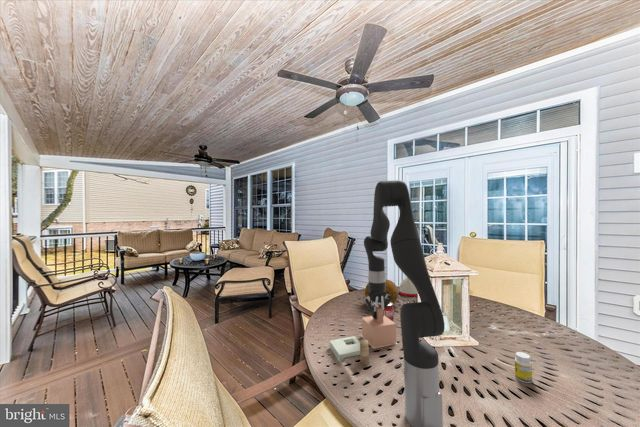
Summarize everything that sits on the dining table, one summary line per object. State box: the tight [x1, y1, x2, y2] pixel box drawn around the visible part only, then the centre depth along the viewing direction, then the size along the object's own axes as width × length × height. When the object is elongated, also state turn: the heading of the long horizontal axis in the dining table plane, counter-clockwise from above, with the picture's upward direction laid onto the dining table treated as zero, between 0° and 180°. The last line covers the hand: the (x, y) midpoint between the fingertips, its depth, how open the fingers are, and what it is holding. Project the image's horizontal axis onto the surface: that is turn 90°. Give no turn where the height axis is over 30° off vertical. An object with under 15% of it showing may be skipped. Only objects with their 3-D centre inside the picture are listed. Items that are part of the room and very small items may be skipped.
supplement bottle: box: [514, 351, 533, 384], centre depth 90 cm, size 5×5×8 cm
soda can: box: [384, 302, 395, 323], centre depth 133 cm, size 7×7×12 cm
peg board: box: [329, 335, 360, 363], centre depth 111 cm, size 12×12×3 cm
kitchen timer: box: [398, 276, 418, 297], centre depth 184 cm, size 14×14×15 cm
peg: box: [359, 338, 370, 366], centre depth 100 cm, size 3×3×10 cm
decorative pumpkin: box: [364, 278, 399, 306], centre depth 163 cm, size 20×21×20 cm
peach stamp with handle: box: [361, 305, 397, 349], centre depth 117 cm, size 11×11×15 cm
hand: (378, 318), depth 117 cm, fingers closed on peach stamp with handle, 2 cm apart
